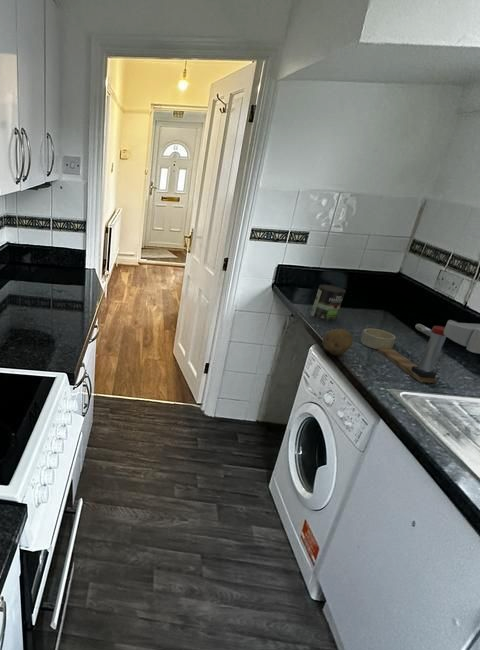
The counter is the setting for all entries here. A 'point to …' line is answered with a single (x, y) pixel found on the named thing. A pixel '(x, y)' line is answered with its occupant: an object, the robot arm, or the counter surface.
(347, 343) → the natural sponge
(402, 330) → the counter surface
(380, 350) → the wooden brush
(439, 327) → the tap
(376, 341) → the basin
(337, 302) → the coffee can
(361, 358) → the counter surface
